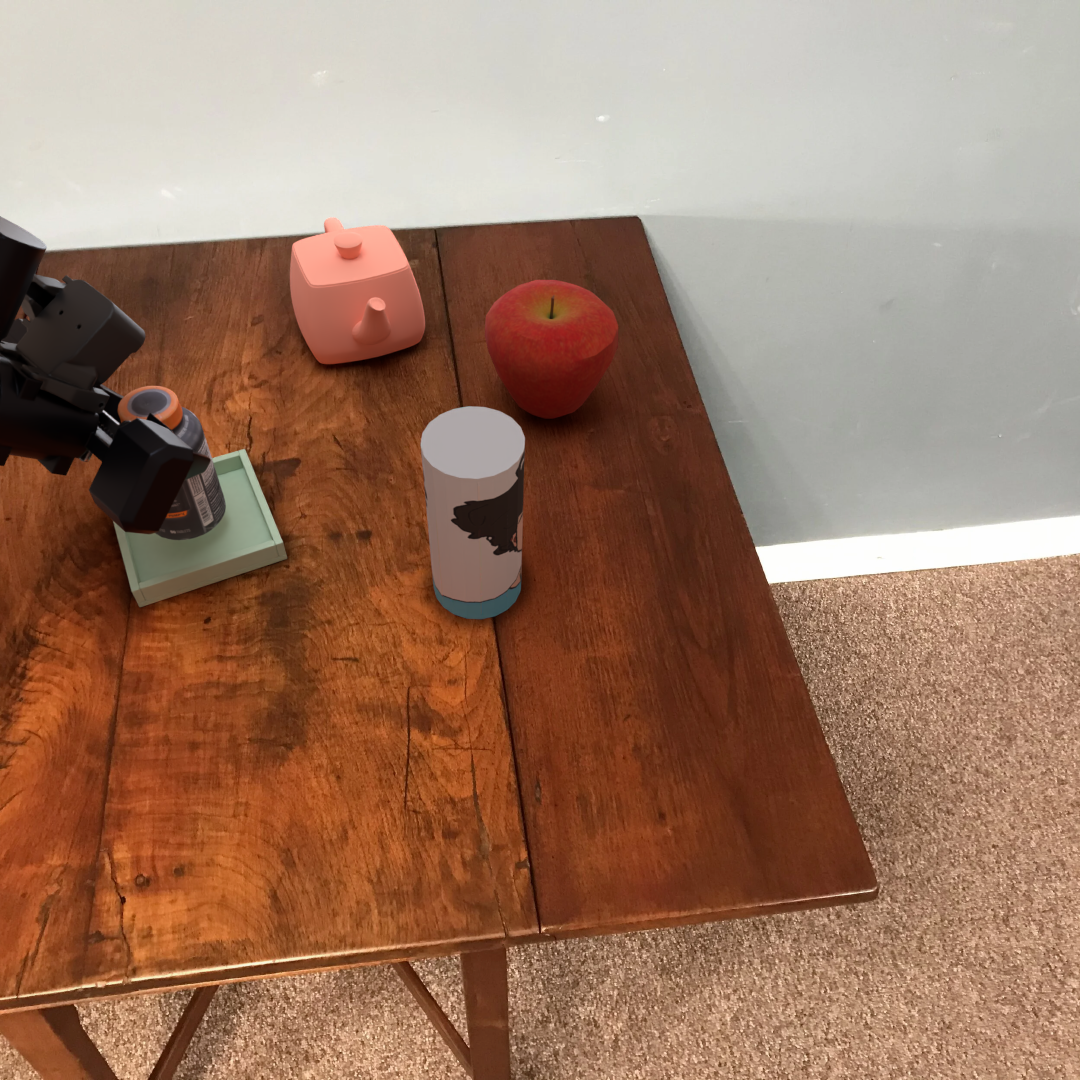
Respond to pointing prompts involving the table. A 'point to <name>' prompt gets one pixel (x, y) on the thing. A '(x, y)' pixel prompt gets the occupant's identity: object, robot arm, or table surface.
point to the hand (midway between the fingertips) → (181, 443)
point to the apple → (550, 345)
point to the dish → (207, 541)
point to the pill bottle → (198, 495)
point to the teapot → (354, 293)
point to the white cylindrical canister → (474, 509)
